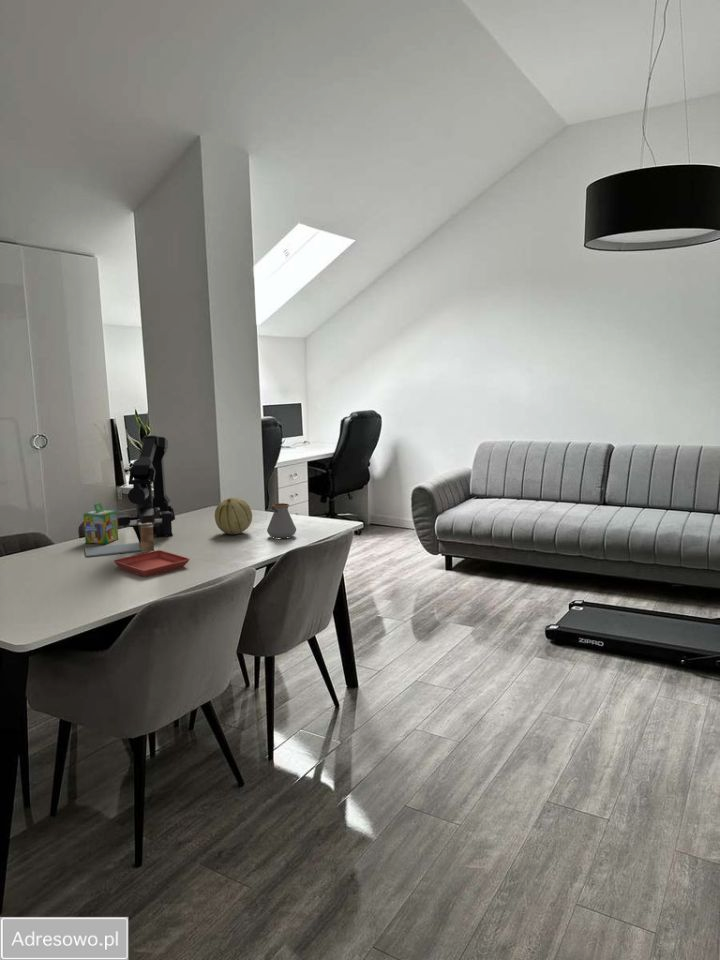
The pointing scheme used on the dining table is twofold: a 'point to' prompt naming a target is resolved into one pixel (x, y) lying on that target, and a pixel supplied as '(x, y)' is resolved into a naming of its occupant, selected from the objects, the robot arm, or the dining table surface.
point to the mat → (112, 549)
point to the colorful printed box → (100, 526)
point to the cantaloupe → (233, 516)
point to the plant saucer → (152, 562)
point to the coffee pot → (281, 522)
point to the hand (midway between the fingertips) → (146, 541)
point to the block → (146, 537)
